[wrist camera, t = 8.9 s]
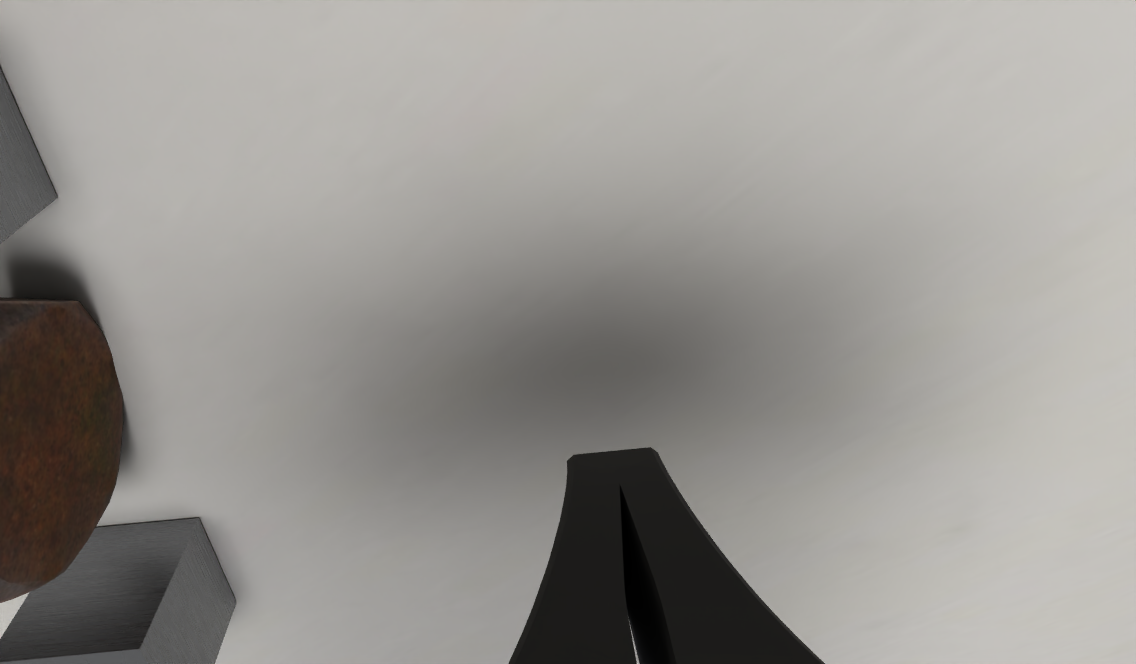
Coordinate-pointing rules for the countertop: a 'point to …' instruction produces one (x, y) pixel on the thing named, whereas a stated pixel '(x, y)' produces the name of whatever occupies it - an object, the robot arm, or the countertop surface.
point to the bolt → (53, 438)
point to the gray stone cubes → (110, 530)
